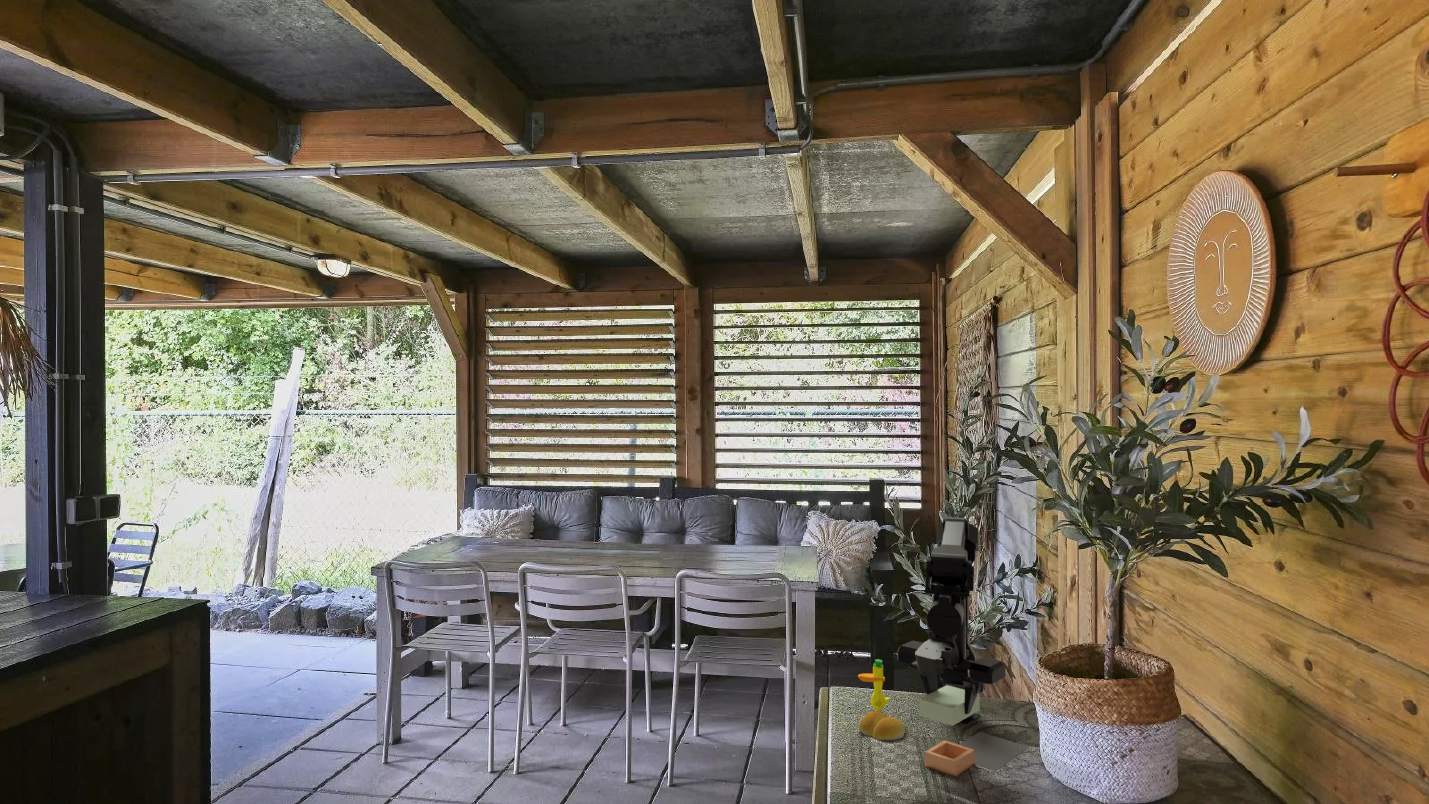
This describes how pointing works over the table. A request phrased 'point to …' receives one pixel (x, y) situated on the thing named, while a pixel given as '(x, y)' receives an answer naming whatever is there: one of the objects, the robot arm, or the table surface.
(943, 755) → the dish
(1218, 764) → the table surface
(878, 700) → the toy figure
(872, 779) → the table surface
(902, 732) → the bread roll
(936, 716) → the lid
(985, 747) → the mat
